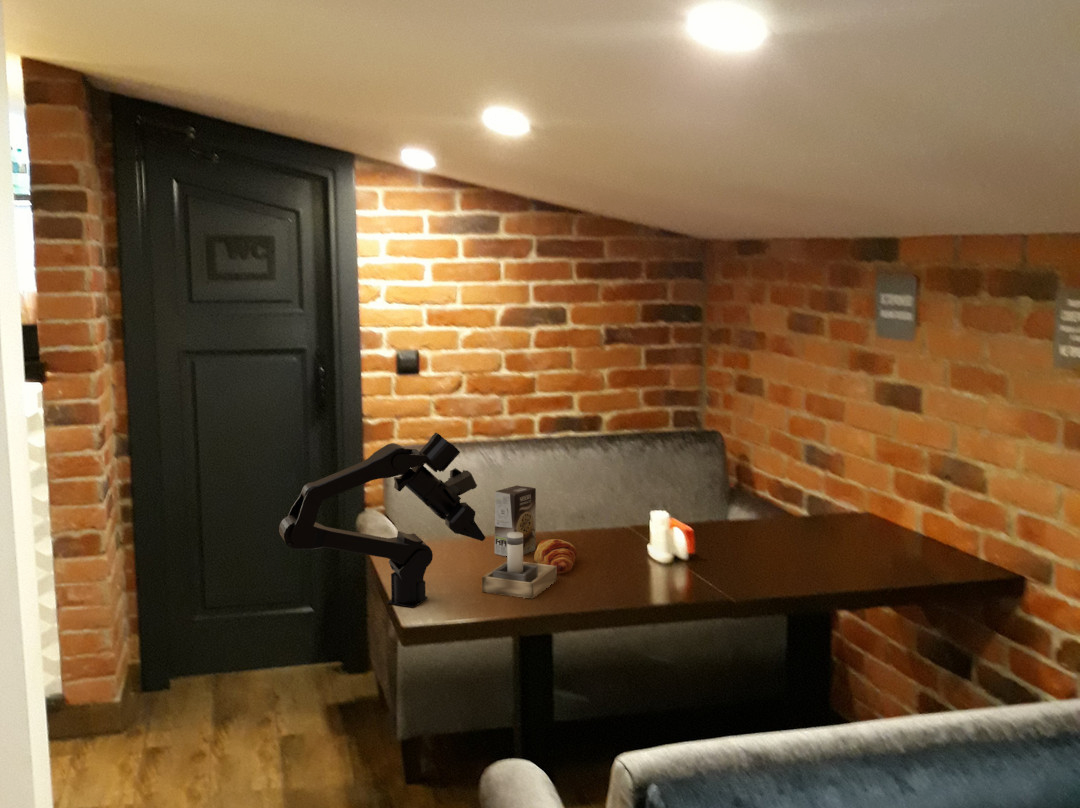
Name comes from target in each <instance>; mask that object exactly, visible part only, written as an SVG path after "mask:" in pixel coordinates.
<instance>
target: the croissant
mask: <svg viewBox="0 0 1080 808" xmlns="http://www.w3.org/2000/svg"><path fill="white" fill-rule="evenodd" d="M577 554H578V550H577V549H576V548H575V546H574V545H573V544H572V543H571V542H568V541H566V540H562V539H552V538H551V539H550V538H548V539H543V540H541V541H540V542H539V543H538V545H537V548H535V552H534V555H533V562H534V563H537V564H545V565H552V566H557V575H559V574H563V573H568V572H570V571H571V570H572V568H573V567H574V565H575V563H576V558H577V556H578V555H577Z"/></svg>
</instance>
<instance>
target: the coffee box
mask: <svg viewBox="0 0 1080 808" xmlns="http://www.w3.org/2000/svg"><path fill="white" fill-rule="evenodd" d="M536 491H537V488H536V487H531V486H523V485H522V486H521V485H516V484H515V485H514V486H509V487H507V488H502V489H499V490H495V491H494V554H495V555H498V556H501V557H506V556H507V533H509V532H521V533H523V556H524V555H526V554H529V553H532V552H534V551H536V539H537V538H536V535H537V534H536V532H537V531H536V523H537V522H536V520H537V519H536V517H537V516H536V515H537V514H536V513H537V512H536V511H537V509H536V508H537V506H536V502H537V499H536V497H537V492H536Z"/></svg>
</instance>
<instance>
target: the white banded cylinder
mask: <svg viewBox="0 0 1080 808" xmlns="http://www.w3.org/2000/svg"><path fill="white" fill-rule="evenodd" d="M506 559H507V560H506V561H507V572H511V573H518V574H523V562H524V555H523V533H521V532H509V533H507V557H506Z"/></svg>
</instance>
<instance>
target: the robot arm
mask: <svg viewBox="0 0 1080 808" xmlns="http://www.w3.org/2000/svg"><path fill="white" fill-rule="evenodd" d="M460 454H461V451H460V450H459V449H458V448H457V447H456V446H455V445H454V444H453V443H452V442H449V441H448V440H447V439H446V438H445V437H443V436H442V435H441V434H440V433H438V432H434V433H433V434H432V436H431V437H430V439H429V440H428V442H427V443H425V445H424V446H423V447H422V448H421V449H420V450H418V449H417V448H405V447H403V446H402V445H400V444H398V443H394V442H392V443H388V444H386V445H384V446H383V447H381V448H379V449H378V450H376V451H374V452H373V453H371V455H370V456H368V458H367V459H364V460H363V461H361V462H359V463H356V464H354V465H352V466H349V467H346V468H344V469H342V470H339V471H337V472H335V473H332V474H330V475H328V476H325V477H322V478H320V479H318V480H316V481H312V482H311V481H310V482H308V483H305V485H304V486H303V487H302V489H301V491H300V494H299V495H298V497H297V499H296V500H295V502H294V504H293V505H292V506H291V507H290V511H289V513H288V514H287V516H286V517H284V518H283V519H282V520H281V521H280V523H279V526H278V527H279V528H278V531H279V532H278V533H279V534H280V537H281V539H282V540H283V541H284V543H285V544H286V545H287V546H288V547H289V548H290V549H293V550H305V551H306V550H317V549H322V548H326V549H332V550H337V551H338V550H339V551H342V552H343V551H344V552H348V553H354V554H361V555H366V556H372V557H377V558H385V559H389V561H388V563H389V566H390V568H391V570H392V571H393V572H392V573H391V574H390V584H391V585H390V592H391V596H390V597H391V598H390V599H389V600H387V604H388V605H394V606H401V607H407V608H415V607H417V606H418V605H420V604H421V603H423V602H425V601H426V600H427V599H428V595H427V594H426V593H427V592H426V580H424V577H425V573H426V570H427V568H428V567H429V566H430V565H431V563H432V560H433V557H434V556H433V550H432V549H431V547H430V546H429V545H428V544H427V543H425V542H424V541H423V540H422V539H421V538H420V536H419V535H417V534H416V533H406V532H403V531H399V530H397V532H396V533H397V535H396V536H395V537H382V536H377V535H371V534H367V533H362V532H356V531H350V530H344V529H339V528H334V527H329V526H325V525H323V524H321V523H318V522H316V520H317V517H318V514H319V510H320V507H321V505H322V503H323V502H324V501H327V500H329V499H331V498H334V497H336V496H338V495H341V494H343V493H346V492H348V491H350V490H352V489H356V488H357V487H360V486H362V485H364V484H367V483H369V482H371V481H375V480H379V479H380V480H381V479H389V478H393V482H394V483H393V484H394V485H393V486H394V487H393V488H394V489H395V490H396V491H397V492H401V491H402V490H403V489H404V488H405V487H406V488H407V489H408V490H409V491H410V492H411V493H413V494H414V496H416V497H417V498H418V499H419V500H420V501H421V502H422V503H423V504H424V505H426V506H427V507H428V508H429V509H430V510H431V511H432V512H433V513H434V514H435V515H436V516H437V517H438V518H440V519H441V520H444V521H445V522H444V523H445V526H447V527H448V529H450V530H451V531H452V532H453V533H454V534H455V535H456V534H457V535H461V536H464V537H468V538H471V539H473V540H477V541H480V542H484V541H485V539H486V535H485V534H484V533H483V532H482V530H481V528H480V527H479V525H478V524H477V523H476V521H475V516H476V511H475V509H474V508H472V507H471V506H470V505H469V504H468V503H467V502H461V499H462V497H460V496H462V495H464V494H465V493H467V492H469V491H472V490H473V491H474V489H476V488H477V487H478V484H477V483H476V480H475V478H474V476H473V474H472V473H471V472H470V471H469V470H464V469H463V470H462V471H461V470H460V469H458V468H457V467H455V468H453V469H451V470H450V471H449V477H448V478H447V479H448V480H446V481H443V480H442V479H439V478H438V477H436V476H435V475H434V474H433V473H432V472H431V471H433V472H434V473H437V472H439V473H441V472H442V473H444V472H445V470H446V469H447V468H448V467H449V466H450V465H451V464H452V463H453V462H454V460H455V459H456V458H457V457H458V456H459V455H460ZM425 465H426V466H427V467H428V468H429V469H431V471H430V470H429V469H428V468H426V467H425ZM426 595H427V596H426Z"/></svg>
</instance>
